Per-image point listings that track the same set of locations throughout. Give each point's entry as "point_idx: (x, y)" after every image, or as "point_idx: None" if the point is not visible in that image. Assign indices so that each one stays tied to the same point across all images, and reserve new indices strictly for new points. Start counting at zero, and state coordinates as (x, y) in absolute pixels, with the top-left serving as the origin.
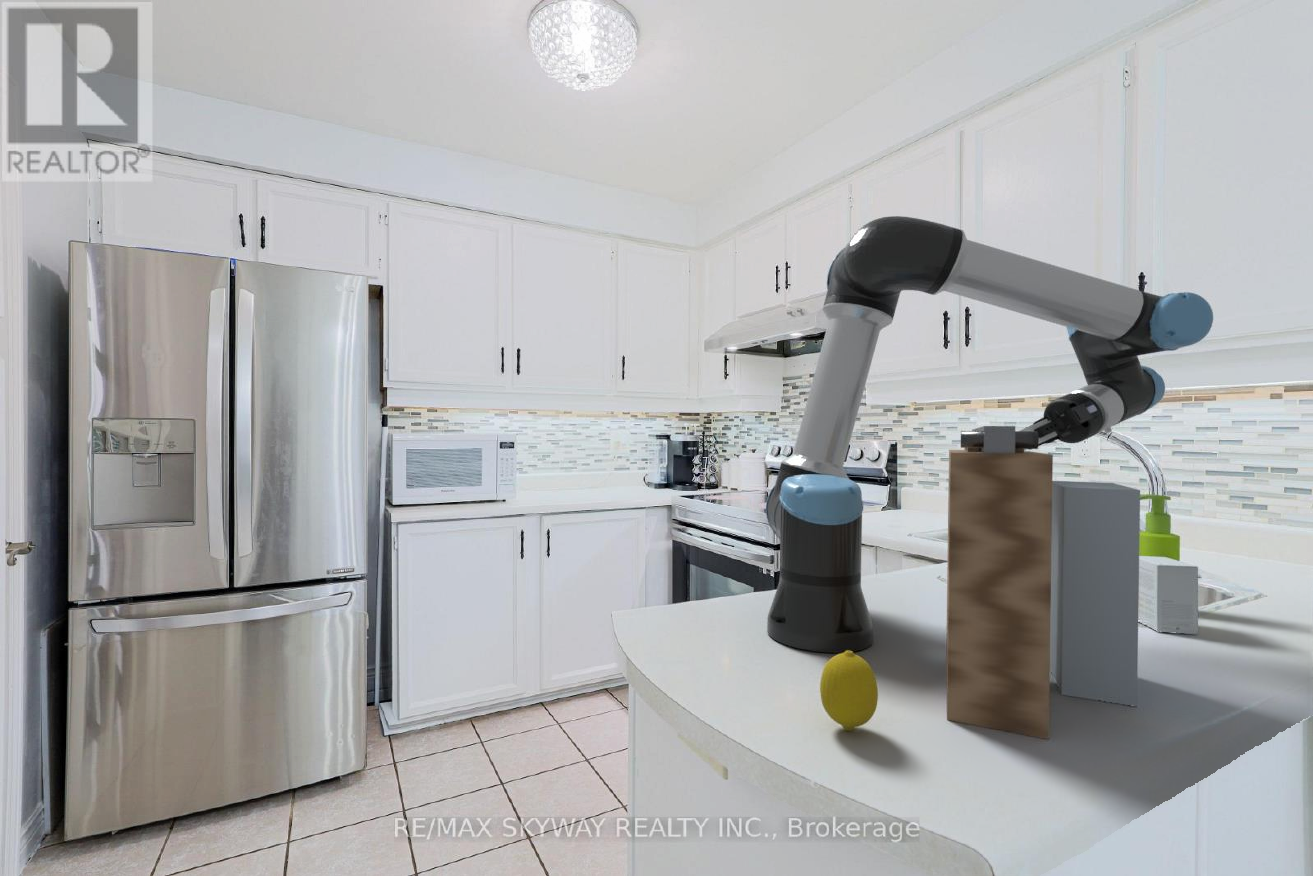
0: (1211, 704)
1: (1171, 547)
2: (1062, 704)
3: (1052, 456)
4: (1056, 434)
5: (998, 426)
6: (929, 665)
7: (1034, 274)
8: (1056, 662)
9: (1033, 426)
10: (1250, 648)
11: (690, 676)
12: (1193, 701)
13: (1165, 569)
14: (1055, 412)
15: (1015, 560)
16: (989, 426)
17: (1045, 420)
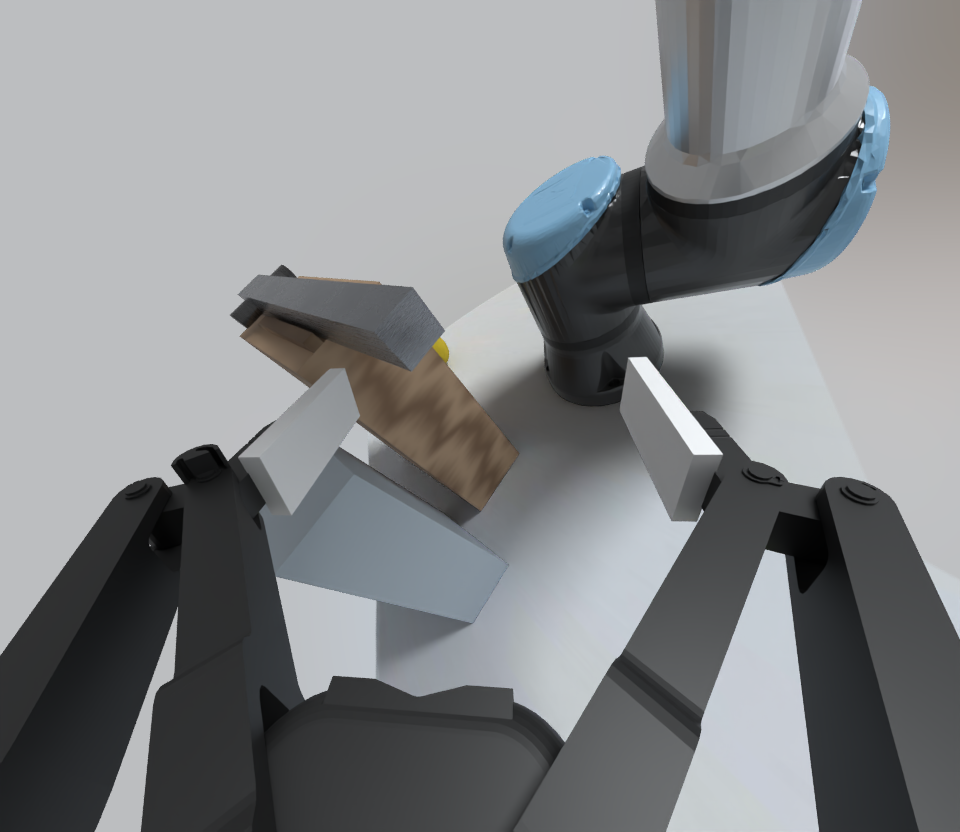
0: (392, 643)
1: None
2: (431, 500)
3: (241, 337)
4: (272, 508)
5: (249, 284)
6: (515, 436)
7: None
8: (449, 519)
9: (289, 414)
10: None
11: (521, 294)
12: (400, 630)
13: None
14: (184, 467)
15: None
16: (255, 278)
17: (248, 453)
